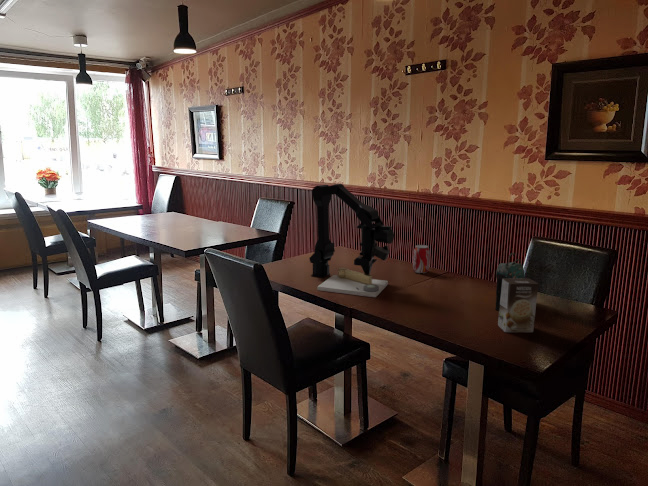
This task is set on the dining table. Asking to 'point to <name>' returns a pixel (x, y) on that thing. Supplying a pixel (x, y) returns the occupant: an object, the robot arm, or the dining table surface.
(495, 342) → the dining table surface
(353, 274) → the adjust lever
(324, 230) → the robot arm
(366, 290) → the base
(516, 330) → the coffee box
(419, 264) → the soda can
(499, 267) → the ceramic cat
